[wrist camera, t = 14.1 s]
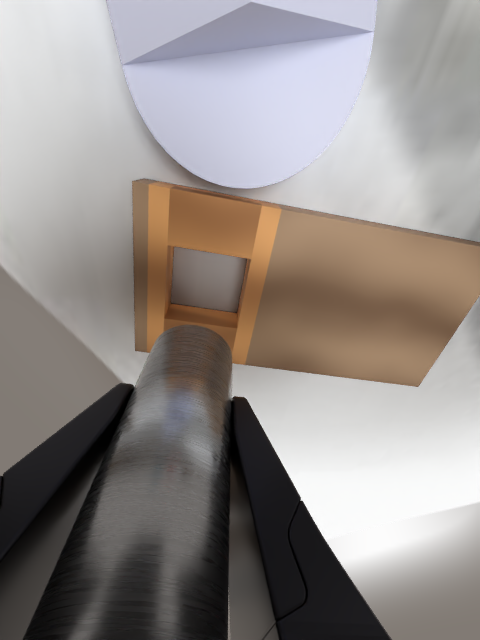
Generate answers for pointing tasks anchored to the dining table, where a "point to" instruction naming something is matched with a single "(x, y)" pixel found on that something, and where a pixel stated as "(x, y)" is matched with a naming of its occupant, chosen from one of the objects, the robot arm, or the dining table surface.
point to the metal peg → (154, 509)
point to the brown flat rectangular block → (305, 284)
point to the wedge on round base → (244, 79)
